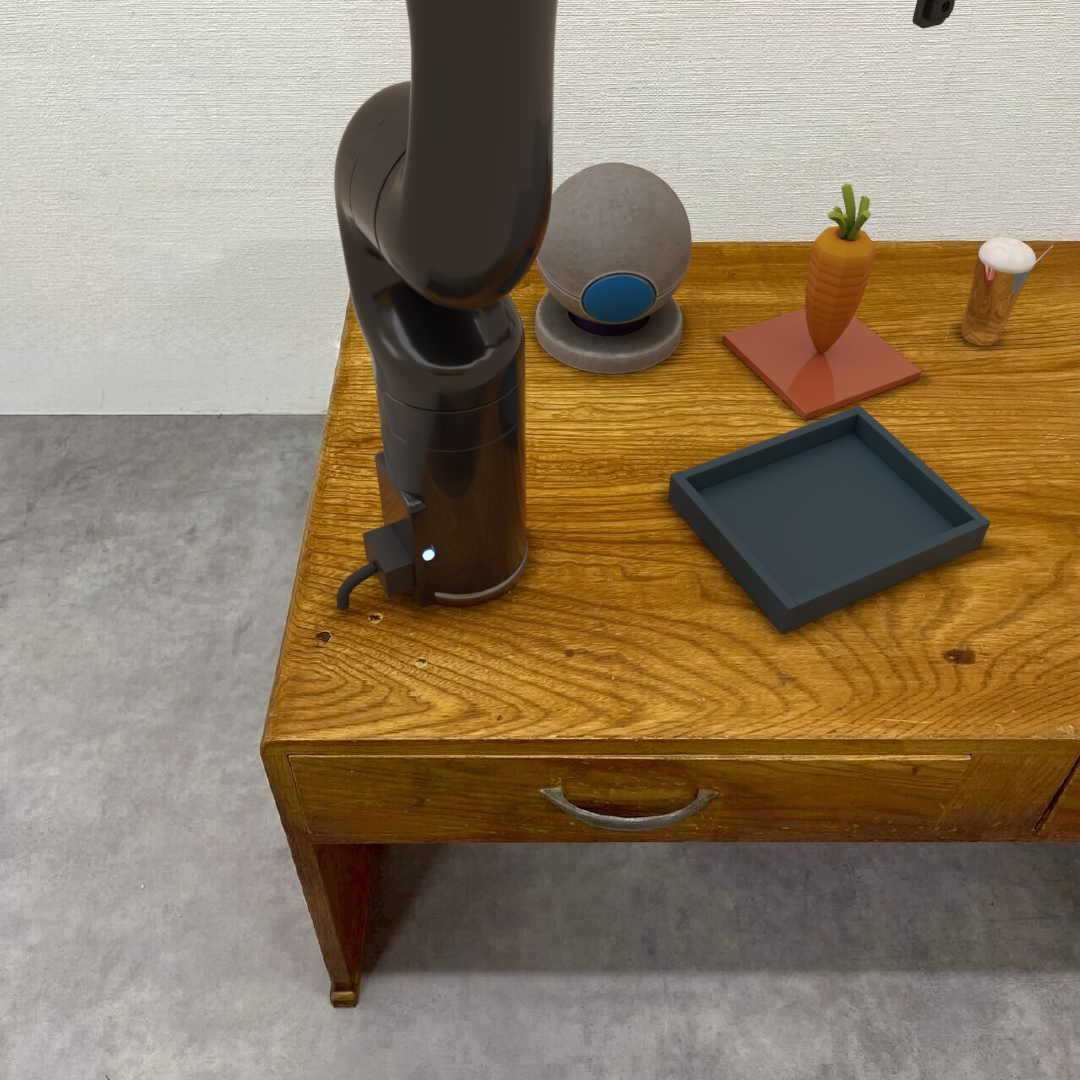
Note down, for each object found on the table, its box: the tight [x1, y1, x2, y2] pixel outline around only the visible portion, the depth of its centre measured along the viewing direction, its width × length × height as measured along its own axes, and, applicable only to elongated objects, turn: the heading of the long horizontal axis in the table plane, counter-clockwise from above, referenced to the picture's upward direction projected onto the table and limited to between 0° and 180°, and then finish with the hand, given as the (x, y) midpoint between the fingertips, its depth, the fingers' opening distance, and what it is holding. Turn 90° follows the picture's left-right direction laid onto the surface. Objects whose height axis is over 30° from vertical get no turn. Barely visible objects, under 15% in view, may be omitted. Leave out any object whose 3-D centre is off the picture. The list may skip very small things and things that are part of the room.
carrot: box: [804, 183, 877, 354], centre depth 90 cm, size 5×5×15 cm
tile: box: [721, 307, 922, 421], centre depth 96 cm, size 12×12×1 cm
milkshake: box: [960, 236, 1054, 347], centre depth 95 cm, size 4×5×10 cm
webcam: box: [534, 162, 693, 375], centre depth 94 cm, size 13×13×15 cm
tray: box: [667, 405, 991, 635], centre depth 82 cm, size 18×15×3 cm
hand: (884, 1), depth 73 cm, fingers open, 8 cm apart
